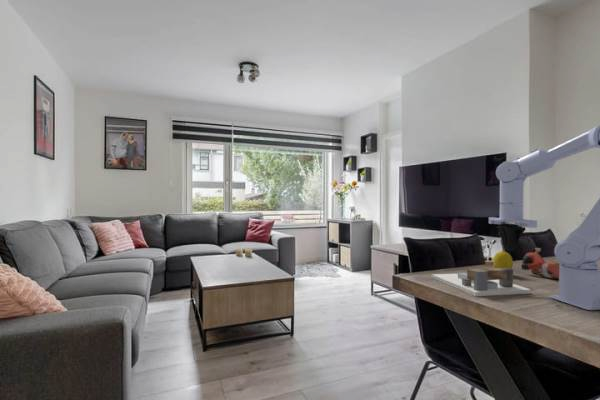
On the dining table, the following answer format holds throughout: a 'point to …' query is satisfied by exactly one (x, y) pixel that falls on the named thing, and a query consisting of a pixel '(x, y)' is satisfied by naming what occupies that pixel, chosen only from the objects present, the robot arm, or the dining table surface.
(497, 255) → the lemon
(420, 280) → the dining table surface
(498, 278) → the latch bar
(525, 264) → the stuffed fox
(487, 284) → the latch frame
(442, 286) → the dining table surface
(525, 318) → the dining table surface
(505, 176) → the robot arm
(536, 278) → the dining table surface
